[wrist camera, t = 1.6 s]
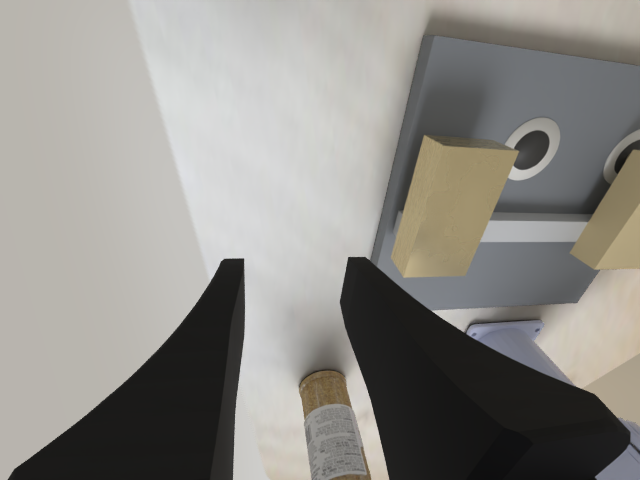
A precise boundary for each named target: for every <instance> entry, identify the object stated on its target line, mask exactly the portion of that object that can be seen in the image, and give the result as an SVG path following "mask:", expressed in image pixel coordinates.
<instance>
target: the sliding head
mask: <svg viewBox="0 0 640 480" xmlns="http://www.w3.org/2000/svg"><path fill="white" fill-rule="evenodd" d="M518 153H519V151H518V150H515V149H513V148H511V147H508V146H506V145H503V144H501V143H499V142H496V141H494V140H485V139H472V138H459V137H446V136H432V135H424V137H423V141H422V144H421V148H420V152H419V155H418V159H417V163H416V167H415V170H414V174H413V178H412V181H411V185H410V189H409V192H408V196H407V200H406V203H405V207H404V211H403V214H402V218H401V222H400V225H399V229H398V233H397V236H396V240H395V244H394V247H393V251H392V255H391V259H392V260H393V262H394V264H395V265H396V267H397V268H398V270H399V271H400V273H401V275H402V276H403V278H407V277H444V276H465V275H466V273H467V271H468V268H469V266H470V264H471V261H472V259H473V257H474V255H475V252H476V250H477V248H478V245H479V243H480V241H481V238H482V236H483V234H484V231H485V229H486V227H487V225H488V222H489V220H490V218H491V215H492V213H493V211H494V208H495V206H496V204H497V201H498V199H499V197H500V195H501V192H502V190H503V188H504V185H505V183H506V181H507V178H508V176H509V174H510V171H511V169H512V167H513V165H514V162H515V160H516V158H517V155H518Z"/></svg>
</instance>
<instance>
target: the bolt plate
mask: <svg viewBox="0 0 640 480" xmlns="http://www.w3.org/2000/svg"><path fill="white" fill-rule="evenodd" d="M424 135H432V136H446V137H459V138H472V139H485V140H494V141H496V142H499V143H501V144H503V145H506V146H508V147H511V148H513V149H515V150H518V151H519V153H518V155H517V158H516V160H515V162H514V165H513V167H512V169H511V171H510V174H509V176H508V178H507V181H506V183H505V185H504V188H503V190H502V192H501V195H500V197H499V199H498V201H497V204H496V206H495V208H494V211H493V213H492V215H491V218H490V220H489V222H488V225H487V227H486V229H485V231H484V234H483V236H482V238H481V241H480V243H479V245H478V248H477V250H476V252H475V255H474V257H473V259H472V261H471V264H470V266H469V268H468V271H467V273H466V275H465V276H444V277H407V278H403V276H402V275H401V273H400V271H399V270H398V268H397V267H396V265H395V264H394V262H393V260H392V259H391V255H392V251H393V247H394V244H395V240H396V236H397V233H398V229H399V225H400V222H401V218H402V214H403V211H404V207H405V203H406V200H407V196H408V192H409V189H410V185H411V181H412V178H413V174H414V170H415V167H416V163H417V159H418V155H419V152H420V148H421V144H422V141H423V137H424ZM371 262H372V263H373V264H374V265H375V266H377V267H378V268H379V269H380V270H381V271H382V272H383V273H385V274H386V275H387V276H388V277H389V278H390V279H392V280H393V281H394V282H395V283H396V284H397V285H399V286H400V287H401V288H402V289H403V290H405V291H406V292H407V293H408V294H410V295H411V296H412V297H413V298H415V299H416V300H417V301H419V302H420V303H421V304H423V305H424V306H425V307H427V308H428V309H429V310H448V309H467V308H487V307H506V306H526V305H545V304H565V303H577V302H578V301H579V299H580V298H581V296H582V295H583V294H584V292H585V291H586V289H587V288H588V286H589V285H590V284H591V282H592V281H593V279H594V278H595V276H596V275H597V274H598V272H599V271H600V269H640V66H637V65H631V64H624V63H617V62H610V61H604V60H597V59H590V58H584V57H577V56H570V55H563V54H557V53H550V52H543V51H537V50H530V49H523V48H516V47H510V46H503V45H496V44H490V43H483V42H476V41H470V40H463V39H456V38H449V37H443V36H436V35H427V36H423V39H422V44H421V48H420V52H419V56H418V61H417V65H416V69H415V73H414V78H413V82H412V86H411V91H410V95H409V99H408V103H407V108H406V112H405V116H404V120H403V125H402V129H401V133H400V138H399V142H398V146H397V150H396V155H395V159H394V163H393V167H392V172H391V176H390V180H389V185H388V189H387V193H386V197H385V202H384V206H383V210H382V215H381V219H380V223H379V227H378V232H377V236H376V240H375V244H374V249H373V253H372V257H371Z"/></svg>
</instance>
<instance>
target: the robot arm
mask: <svg viewBox="0 0 640 480" xmlns="http://www.w3.org/2000/svg"><path fill="white" fill-rule="evenodd" d="M340 305H341V310H342V315H343V319H344V324H345V328H346V331H347V334H348V337H349V339H350V342H351V345H352V348H353V351H354V353H355V356H356V359H357V362H358V364H359V367H360V370H361V373H362V375H363V378H364V381H365V384H366V387H367V390H368V393H369V396H370V399H371V403H372V407H373V411H374V415H375V419H376V423H377V427H378V431H379V435H380V440H381V444H382V448H383V452H384V457H385V461H386V466H387V470H388V475H389V480H640V427H639V426H638V425H637V424H636V423H635V422H632V421H628V420H626V421H625V420H624V419H622V418H617V417H616V416H615V415H614V414H613V413H612V412H611V411H610V410H609V409H608V408H607V407H606V405H605V404H604V403H603V402H602V401H601V400H600V399H599V398H598V397H597V396H596V395H595V394H593V393H590V392H588V391H585V390H583V389H580V388H578V387H576V386H575V385H574V384H573V383H572V382H571V381H570V380H569V378H568V377H567V376H566V375H565V374H564V373H563V372H562V371H561V370H560V369H559V368H558V367H557V366H556V365H555V364H554V362H553V361H552V360H551V359H550V358H549V357H548V356H547V355H546V354H545V353H544V352H543V351H542V350H541V349H540V347H539V346H538V345H537V344H536V343H535V342H534V340H535V339H536V337H537V336H538V334H539V333H540V331H541V330H542V328H543V327H544V323H543V322H542V321H541V320H533V321H517V322H502V323H486V324H474V325H471V326H470V327H469V329H468V331H467V333H466V334H465V333H464V332H462V331H461V330H459V329H457V328H456V327H454V326H453V325H451V324H450V323H448V322H447V321H445V320H443V319H442V318H441V317H439V316H438V315H436V314H435V313H433V312H432V311H431V310H429V309H428V308H427V307H425V306H424V305H423V304H421V303H420V302H419V301H417V300H416V299H415V298H413V297H412V296H411V295H410V294H408V293H407V292H406V291H405V290H403V289H402V288H401V287H400V286H399V285H397V284H396V283H395V282H394V281H393V280H392V279H390V278H389V277H388V276H387V275H386V274H385V273H383V272H382V271H381V270H380V269H379V268H378V267H377V266H375V265H374V264H373V263H372V262H371V261H369V260H368V259H367V258H366V257H348V262H347V267H346V272H345V278H344V283H343V288H342V294H341V299H340ZM244 328H245V282H244V259H224V260H223V261H221V263H220V265H219V268H218V270H217V271H216V273H215V275H214V277H213V279H212V280H211V282H210V284H209V285H208V287H207V288H206V290H205V291H204V293H203V294H202V296H201V297H200V299H199V300H198V302H197V303H196V305H195V306H194V307H193V309H192V310H191V311H190V313H189V314H188V315H187V316H186V318H185V319H184V320H183V322H182V323H181V324H180V326H179V327H178V328H177V329H176V330H175V331H174V333H173V334H172V335H171V336H170V337H169V338H168V339H167V341H166V342H165V343H164V344H163V345H162V346H161V347H160V348H159V349H158V350H157V351H156V352H155V353H154V354H153V355H152V356H151V357H150V358H149V359H148V360H147V361H146V362H145V363H144V364H143V365H142V366H141V367H140V368H139V369H138V370H137V371H136V372H135V373H134V374H133V375H132V376H131V377H130V378H129V379H128V380H127V381H126V382H124V383H123V384H122V385H121V386H120V387H119V388H117V389H116V390H115V391H114V392H113V393H112V394H110V395H109V396H108V397H107V398H106V399H105V400H103V401H102V402H101V403H100V404H99V405H98V406H96V407H95V408H94V409H93V410H92V411H91V412H89V413H88V414H87V415H86V416H84V417H83V418H82V419H81V420H80V421H78V422H77V423H76V424H75V425H73V426H72V427H71V428H69V429H68V430H67V431H65V432H64V433H63V434H61V435H60V436H59V437H57V438H56V439H55V440H53V441H52V442H51V443H49V444H48V445H47V446H45V447H44V448H43V449H41V450H40V451H39V452H37V453H36V454H35V455H33V456H32V457H31V458H30V459H28V460H27V461H25V462H24V463H22V464H21V465H20V466H18V467H17V468H15V469H14V471H13V472H12V474H11V475H10V477H9V479H8V480H233V456H234V429H235V427H234V426H235V408H236V397H237V389H238V381H239V373H240V365H241V357H242V349H243V341H244Z"/></svg>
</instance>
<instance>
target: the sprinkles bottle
mask: <svg viewBox="0 0 640 480" xmlns="http://www.w3.org/2000/svg"><path fill="white" fill-rule="evenodd" d="M346 386H347V385H346V379H345V378H344V376H343V375H342V374H340V373H338V372H335V371H319V372H316V373H313V374H311V375H310V376H308V377H306V378H305V379H304V380H303V381H302V383H301V385H300V389H299V393H300V396H301V398H302V405H303V412H304V419H305V421H304V427H305V434H306V441H307V449H308V456H309V464H310V471H311V478H312V480H371V476H370V471H369V469H368V465H367V460H366V457H365V453H364V448H363V443H362V439H361V436H360V432H359V428H358V425H357V421H356V417H355V414H354V411H353V410H352V406H351V403H350V399H349V395H348V391H347V387H346Z"/></svg>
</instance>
